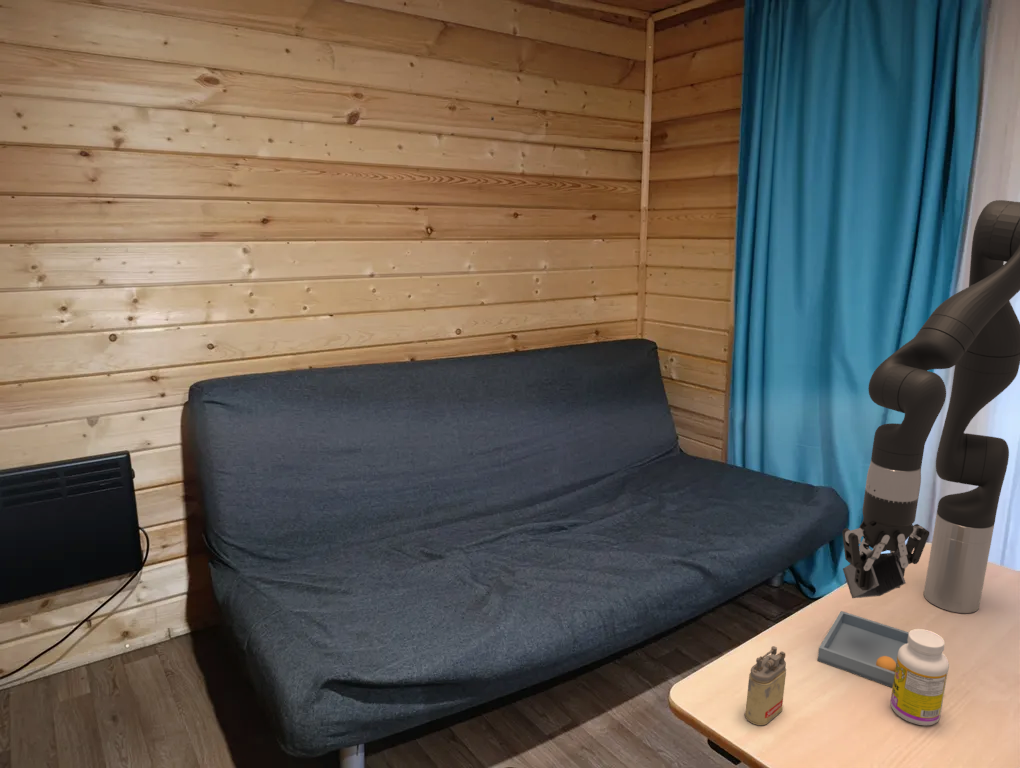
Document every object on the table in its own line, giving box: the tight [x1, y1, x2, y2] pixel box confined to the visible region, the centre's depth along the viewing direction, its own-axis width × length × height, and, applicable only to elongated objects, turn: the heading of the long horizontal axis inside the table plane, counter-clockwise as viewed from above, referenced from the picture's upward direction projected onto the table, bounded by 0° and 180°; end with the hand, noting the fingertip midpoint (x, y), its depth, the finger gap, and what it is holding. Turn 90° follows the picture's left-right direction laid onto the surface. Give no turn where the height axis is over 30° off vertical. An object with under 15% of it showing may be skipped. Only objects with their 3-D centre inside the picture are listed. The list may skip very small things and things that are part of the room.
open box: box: [842, 552, 907, 599], centre depth 122 cm, size 5×5×8 cm
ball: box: [876, 656, 896, 672], centre depth 119 cm, size 3×3×3 cm
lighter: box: [744, 645, 787, 726], centre depth 110 cm, size 7×4×10 cm, turn 130°
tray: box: [817, 610, 910, 688], centre depth 125 cm, size 14×12×2 cm
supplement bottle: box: [890, 628, 950, 726], centre depth 110 cm, size 7×7×13 cm
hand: (878, 586), depth 121 cm, fingers closed on open box, 5 cm apart
